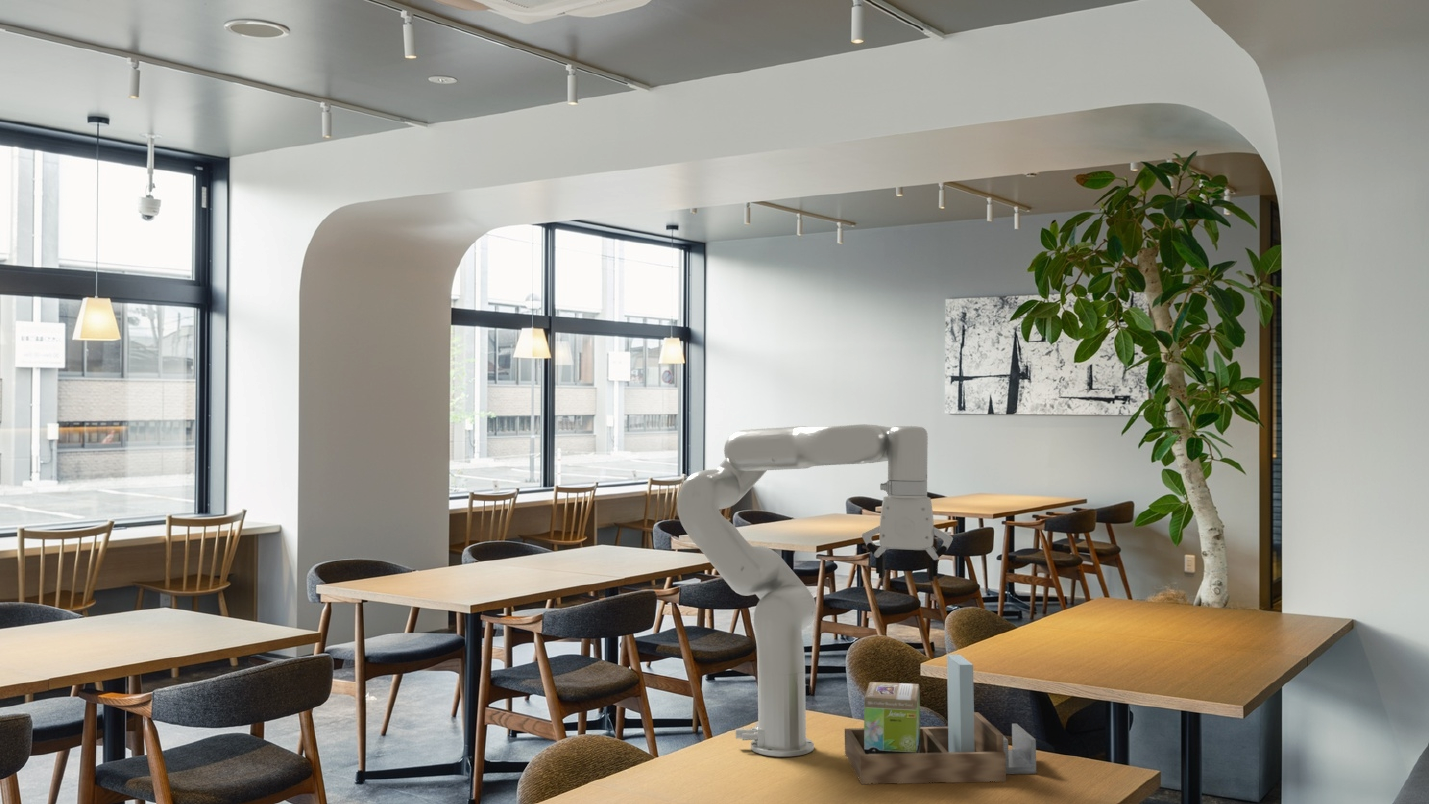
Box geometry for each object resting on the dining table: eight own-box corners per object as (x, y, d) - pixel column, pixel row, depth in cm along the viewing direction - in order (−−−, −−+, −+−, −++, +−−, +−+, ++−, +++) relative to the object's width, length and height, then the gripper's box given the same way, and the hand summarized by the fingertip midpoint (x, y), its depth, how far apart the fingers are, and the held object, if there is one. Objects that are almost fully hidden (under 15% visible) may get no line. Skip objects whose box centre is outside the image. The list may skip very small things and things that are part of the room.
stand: (1004, 774, 212) (1003, 740, 212) (986, 756, 224) (985, 724, 224) (1036, 773, 212) (1035, 739, 213) (1017, 755, 224) (1016, 723, 225)
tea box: (918, 781, 209) (917, 698, 209) (863, 778, 211) (861, 696, 211) (921, 758, 223) (919, 681, 224) (868, 756, 225) (867, 679, 226)
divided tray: (861, 784, 207) (860, 739, 207) (844, 754, 227) (844, 713, 227) (1006, 781, 208) (1005, 736, 208) (977, 751, 228) (976, 710, 228)
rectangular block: (961, 774, 212) (959, 664, 213) (948, 759, 222) (946, 654, 223) (974, 774, 212) (973, 664, 213) (961, 759, 222) (959, 654, 223)
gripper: (859, 489, 222) (858, 579, 222) (950, 492, 217) (950, 583, 217) (866, 488, 229) (865, 574, 229) (954, 490, 224) (954, 578, 224)
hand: (906, 578), depth 223 cm, fingers open, 9 cm apart
